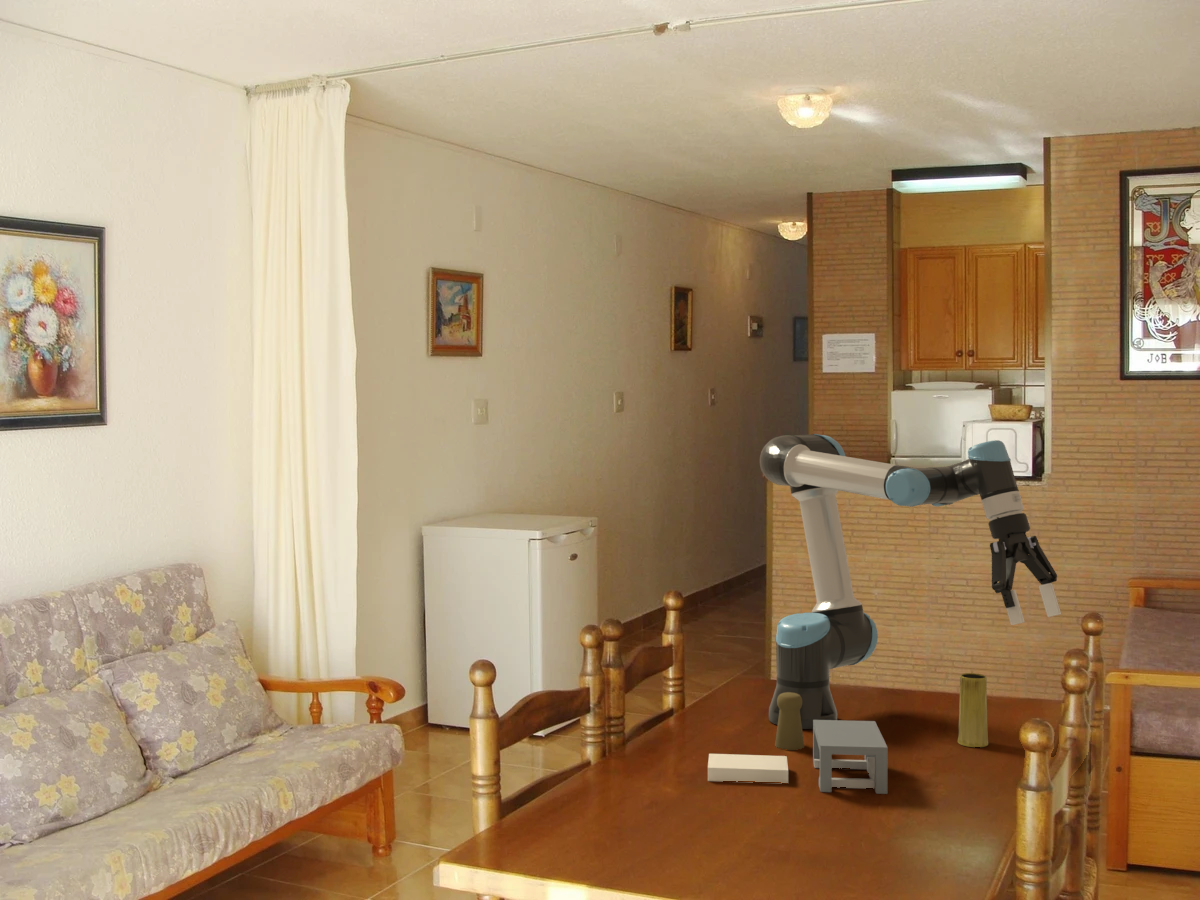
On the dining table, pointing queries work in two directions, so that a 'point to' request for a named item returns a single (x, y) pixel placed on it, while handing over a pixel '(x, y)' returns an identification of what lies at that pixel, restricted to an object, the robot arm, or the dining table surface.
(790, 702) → the cork
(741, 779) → the cover
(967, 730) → the vase
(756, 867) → the dining table surface
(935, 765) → the dining table surface
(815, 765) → the shelf
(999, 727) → the dining table surface
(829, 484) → the robot arm
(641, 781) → the dining table surface
